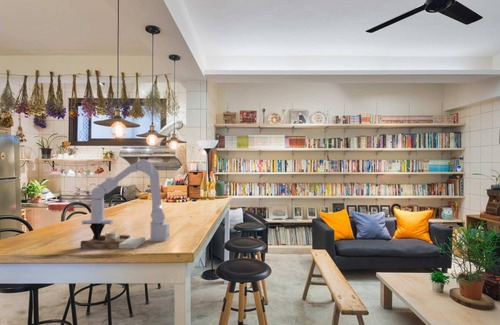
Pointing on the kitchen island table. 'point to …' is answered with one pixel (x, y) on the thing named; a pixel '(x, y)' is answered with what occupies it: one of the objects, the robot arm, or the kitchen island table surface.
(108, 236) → the cube
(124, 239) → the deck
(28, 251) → the kitchen island table surface
